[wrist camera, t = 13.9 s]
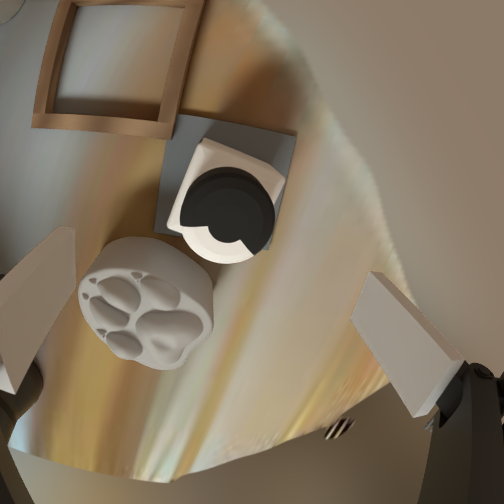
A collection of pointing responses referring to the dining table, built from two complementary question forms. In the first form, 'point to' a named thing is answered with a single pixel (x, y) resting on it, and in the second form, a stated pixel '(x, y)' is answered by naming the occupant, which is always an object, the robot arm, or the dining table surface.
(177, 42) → the pocket
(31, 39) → the dining table surface
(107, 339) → the lumpy-topped squat cylinder
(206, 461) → the dining table surface
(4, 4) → the beer glass
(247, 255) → the medicine bottle
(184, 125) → the mat
